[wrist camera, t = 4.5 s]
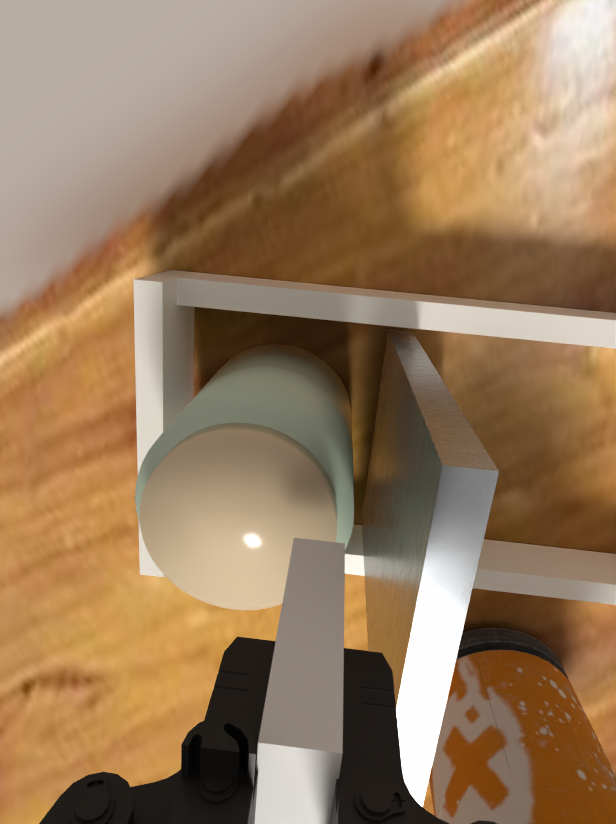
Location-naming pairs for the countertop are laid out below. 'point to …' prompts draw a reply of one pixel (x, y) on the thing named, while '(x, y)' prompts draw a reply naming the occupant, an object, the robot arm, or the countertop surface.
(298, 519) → the jar
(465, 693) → the canister
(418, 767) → the panel
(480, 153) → the countertop surface
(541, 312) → the white rectangular frame
